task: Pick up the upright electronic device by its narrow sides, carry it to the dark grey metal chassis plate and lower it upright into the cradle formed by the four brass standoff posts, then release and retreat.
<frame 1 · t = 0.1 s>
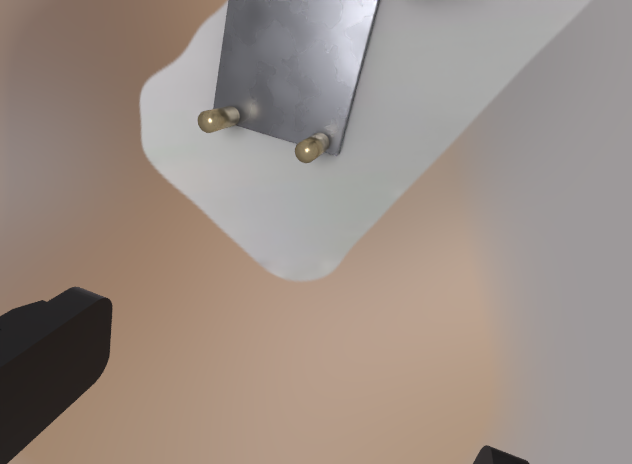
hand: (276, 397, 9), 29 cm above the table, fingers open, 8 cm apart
chassis: (296, 39, 35), on the table
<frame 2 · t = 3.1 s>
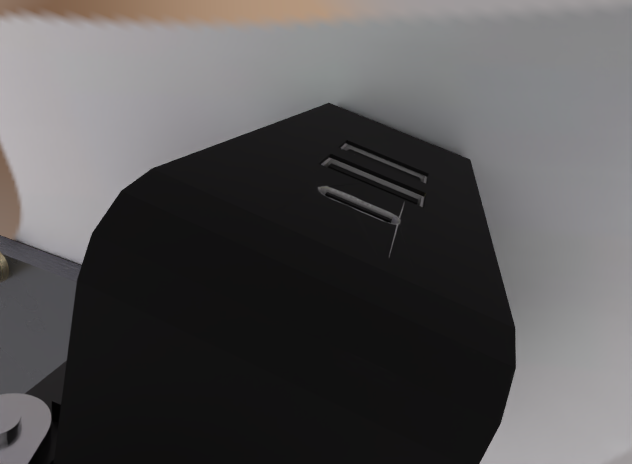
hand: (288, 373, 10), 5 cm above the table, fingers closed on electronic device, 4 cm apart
electronic device: (341, 268, 15), on the table, touching gripper
chassis: (92, 411, 21), on the table
when the fingers open (8 cm above the table, at t = 8.3 s): electronic device drops 1 cm, resting on chassis.
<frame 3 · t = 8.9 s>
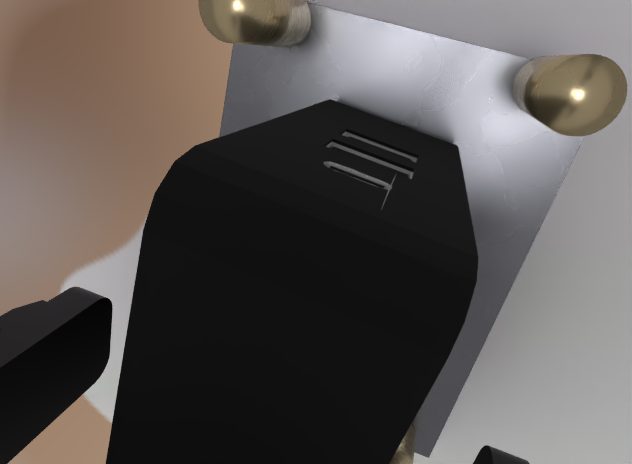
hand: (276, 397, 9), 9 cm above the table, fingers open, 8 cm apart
electronic device: (345, 251, 16), point 1 cm above the table, touching chassis
chassis: (353, 243, 17), on the table
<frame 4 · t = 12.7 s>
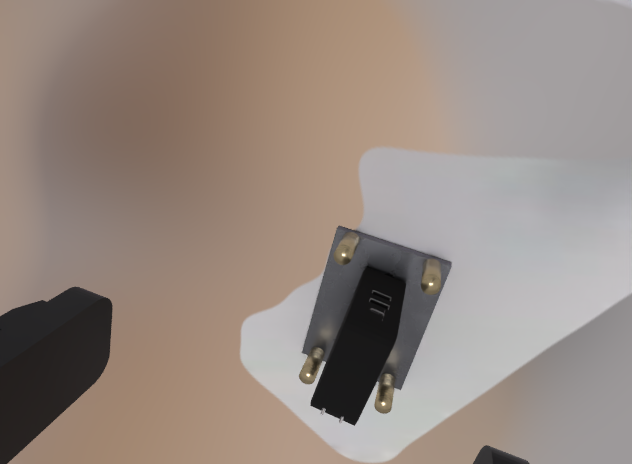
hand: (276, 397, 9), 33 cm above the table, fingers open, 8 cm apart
electronic device: (369, 312, 45), point 1 cm above the table, touching chassis
chassis: (371, 308, 46), on the table
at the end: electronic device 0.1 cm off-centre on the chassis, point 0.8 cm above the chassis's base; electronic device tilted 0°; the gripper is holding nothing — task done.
